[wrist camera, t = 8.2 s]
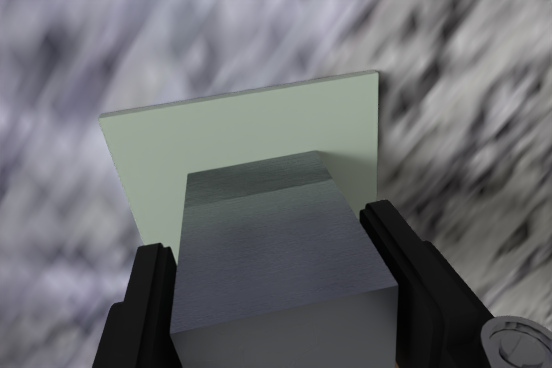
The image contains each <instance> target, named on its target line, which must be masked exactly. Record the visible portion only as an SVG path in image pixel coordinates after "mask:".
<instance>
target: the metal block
mask: <svg viewBox="0 0 552 368" xmlns="http://www.w3.org/2000/svg"><path fill="white" fill-rule="evenodd" d="M397 307H398V284H397V282H396V280H395V279H394V277H393V276H392V274H391V272H390V271H389V269H388V267H387V266H386V264H385V263H384V261H383V259H382V258H381V256H380V254H379V253H378V251H377V250H376V248H375V246H374V245H373V243H372V241H371V240H370V238H369V237H368V235H367V233H366V232H365V230H364V228H363V227H362V225H361V224H360V222H359V220H358V219H357V217H356V216H355V214H354V212H353V211H352V209H351V207H350V206H349V204H348V203H347V201H346V199H345V198H344V196H343V194H342V193H341V191H340V190H339V188H338V186H337V185H336V183H335V181H334V180H333V178H332V177H331V175H330V173H329V172H328V170H327V168H326V167H325V165H324V164H323V162H322V160H321V159H320V157H319V156H318V154H317V152H316V151H315V150H313V151H308V152H303V153H297V154H292V155H286V156H281V157H275V158H270V159H264V160H259V161H254V162H248V163H243V164H237V165H232V166H226V167H221V168H215V169H210V170H205V171H199V172H194V173H188V174H187V183H186V192H185V201H184V210H183V219H182V228H181V237H180V246H179V254H178V263H177V272H176V281H175V290H174V299H173V308H172V317H171V326H170V336H171V339H172V341H173V344H174V346H175V349H176V351H177V354H178V357H179V359H180V362H181V364H182V367H183V368H395V354H396V330H397Z"/></svg>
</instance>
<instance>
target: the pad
mask: <svg viewBox="0 0 552 368" xmlns="http://www.w3.org/2000/svg"><path fill="white" fill-rule="evenodd" d="M98 121H99V124H100V127H101V130H102V132H103V135H104V138H105V140H106V143H107V146H108V148H109V151H110V154H111V157H112V159H113V162H114V165H115V167H116V170H117V173H118V176H119V178H120V181H121V184H122V186H123V189H124V192H125V195H126V197H127V200H128V203H129V205H130V208H131V211H132V213H133V216H134V219H135V222H136V224H137V227H138V230H139V232H140V235H141V238H142V241H143V243H144V245H149V244H155V243H162V244H163V246H164V247H168V246H170V247H171V249H172V252H173V255H174V258H175V261H176V264H177V263H178V254H179V246H180V237H181V228H182V219H183V210H184V201H185V192H186V183H187V174H188V173H194V172H199V171H205V170H210V169H215V168H221V167H226V166H232V165H237V164H243V163H248V162H254V161H259V160H264V159H270V158H275V157H281V156H286V155H292V154H297V153H303V152H308V151H313V150H315V151H316V152H317V154H318V156H319V157H320V159H321V160H322V162H323V164H324V165H325V167H326V168H327V170H328V172H329V173H330V175H331V177H332V178H333V180H334V181H335V183H336V185H337V186H338V188H339V190H340V191H341V193H342V194H343V196H344V198H345V199H346V201H347V203H348V204H349V206H350V207H351V209H352V211H353V212H354V214H355V216H356V217H357V219H358V220H359V212H360V210H362V209H365V206H366V204H367V203H371V202H376V201H377V142H378V72H376V71H374V70H370V71H364V72H357V73H351V74H345V75H339V76H333V77H327V78H321V79H314V80H308V81H302V82H296V83H290V84H284V85H277V86H271V87H265V88H259V89H253V90H247V91H240V92H234V93H228V94H222V95H216V96H210V97H204V98H197V99H191V100H185V101H179V102H173V103H167V104H160V105H154V106H148V107H142V108H136V109H130V110H123V111H117V112H111V113H105V114H101V115H100V116H99V117H98Z"/></svg>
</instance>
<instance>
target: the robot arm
mask: <svg viewBox="0 0 552 368" xmlns="http://www.w3.org/2000/svg"><path fill="white" fill-rule="evenodd" d="M359 222H360V224H361V225H362V227H363V228H364V230H365V232H366V233H367V235H368V237H369V238H370V240H371V241H372V243H373V245H374V246H375V248H376V250H377V251H378V253H379V254H380V256H381V258H382V259H383V261H384V263H385V264H386V266H387V267H388V269H389V271H390V272H391V274H392V276H393V277H394V279H395V280H396V282H397V284H398V307H397V330H396V354H395V361H396V363H397V365H398V367H399V368H552V332H551V331H549V330H548V329H547V328H545V327H543V326H542V325H540V324H538V323H536V322H534V321H531V320H528V319H525V318H522V317H516V316H499V317H494V316H493V315H492V314H491V313H490V311H489V310H488V309H487V308H486V307H485V306H484V304H483V303H482V302H481V301H480V300H479V298H478V297H477V296H476V295H475V294H474V292H473V291H472V290H471V289H470V288H469V287H468V285H467V284H466V283H465V282H464V281H463V279H462V278H461V277H460V276H459V275H458V273H457V272H456V271H455V270H454V269H453V268H452V266H451V265H450V264H449V263H448V262H447V260H446V259H445V258H444V257H443V256H442V254H441V253H440V252H439V251H438V250H437V249H436V247H435V246H434V245H433V244H432V243H431V242H428V241H423V242H422V241H421V240H420V238H419V237H418V236H417V235H416V233H415V232H414V231H413V230H412V229H411V227H410V226H409V225H408V224H407V222H406V221H405V220H404V219H403V217H402V216H401V215H400V214H399V212H398V211H397V210H396V209H395V208H394V206H393V205H392V204H391V203H390V201H388V200H381V201H376V202H371V203H367V204H366V206H365V209H362V210H360V212H359ZM176 272H177V264H176V261H175V258H174V255H173V252H172V249H171V247H170V246H168V247H164V246H163V244H162V243H155V244H149V245H144V246H140V247H138V249H137V253H136V257H135V260H134V264H133V268H132V272H131V275H130V279H129V283H128V287H127V290H126V294H125V298H124V301H123V302H118V303H114V304H113V305H112V306H111V308H110V310H109V313H108V317H107V320H106V323H105V327H104V330H103V333H102V336H101V340H100V343H99V346H98V350H97V353H96V356H95V360H94V363H93V366H92V368H183V367H182V364H181V362H180V359H179V357H178V354H177V351H176V349H175V346H174V344H173V341H172V339H171V336H170V326H171V317H172V308H173V299H174V290H175V281H176Z"/></svg>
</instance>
